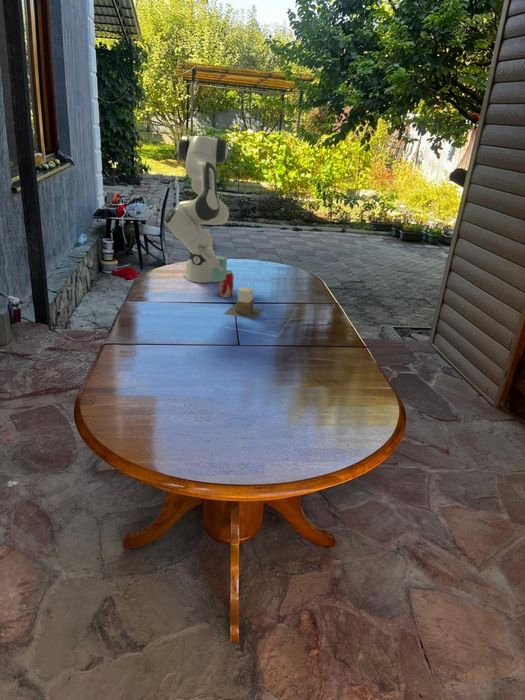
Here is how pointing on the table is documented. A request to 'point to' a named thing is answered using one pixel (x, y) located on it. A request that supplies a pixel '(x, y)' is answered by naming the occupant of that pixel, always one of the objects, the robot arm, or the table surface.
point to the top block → (245, 295)
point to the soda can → (226, 285)
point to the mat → (252, 315)
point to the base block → (244, 307)
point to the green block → (216, 272)
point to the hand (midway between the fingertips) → (221, 267)
